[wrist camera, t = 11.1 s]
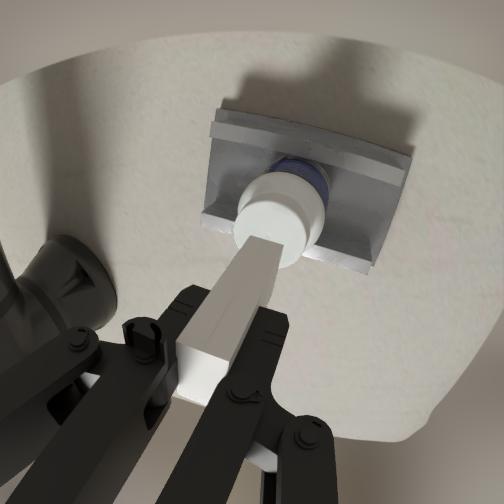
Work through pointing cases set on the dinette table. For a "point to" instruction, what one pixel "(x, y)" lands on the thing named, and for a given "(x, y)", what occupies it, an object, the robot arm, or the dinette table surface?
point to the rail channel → (336, 167)
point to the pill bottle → (285, 206)
